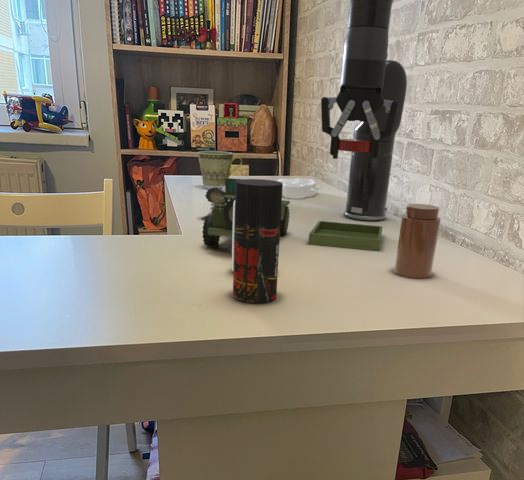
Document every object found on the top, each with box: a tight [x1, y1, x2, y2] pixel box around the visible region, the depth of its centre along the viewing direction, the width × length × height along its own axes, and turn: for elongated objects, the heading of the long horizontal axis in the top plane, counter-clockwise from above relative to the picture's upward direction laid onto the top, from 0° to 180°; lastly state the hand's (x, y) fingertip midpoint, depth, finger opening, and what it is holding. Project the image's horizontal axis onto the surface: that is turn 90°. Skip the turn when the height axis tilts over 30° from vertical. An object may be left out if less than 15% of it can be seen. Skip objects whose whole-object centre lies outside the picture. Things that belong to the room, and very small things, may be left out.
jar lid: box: [338, 138, 372, 153], centre depth 103 cm, size 6×6×2 cm
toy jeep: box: [202, 177, 291, 248], centre depth 103 cm, size 12×25×11 cm, turn 168°
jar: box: [394, 203, 442, 279], centre depth 88 cm, size 6×6×11 cm
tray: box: [308, 220, 384, 252], centre depth 110 cm, size 13×13×2 cm
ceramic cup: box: [197, 150, 244, 190], centre depth 163 cm, size 13×10×10 cm
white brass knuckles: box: [276, 178, 322, 200], centre depth 161 cm, size 3×18×15 cm
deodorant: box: [232, 178, 283, 304], centre depth 73 cm, size 6×6×15 cm
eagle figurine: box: [200, 187, 226, 220], centre depth 122 cm, size 8×7×9 cm
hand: (353, 159), depth 104 cm, fingers closed on jar lid, 6 cm apart
